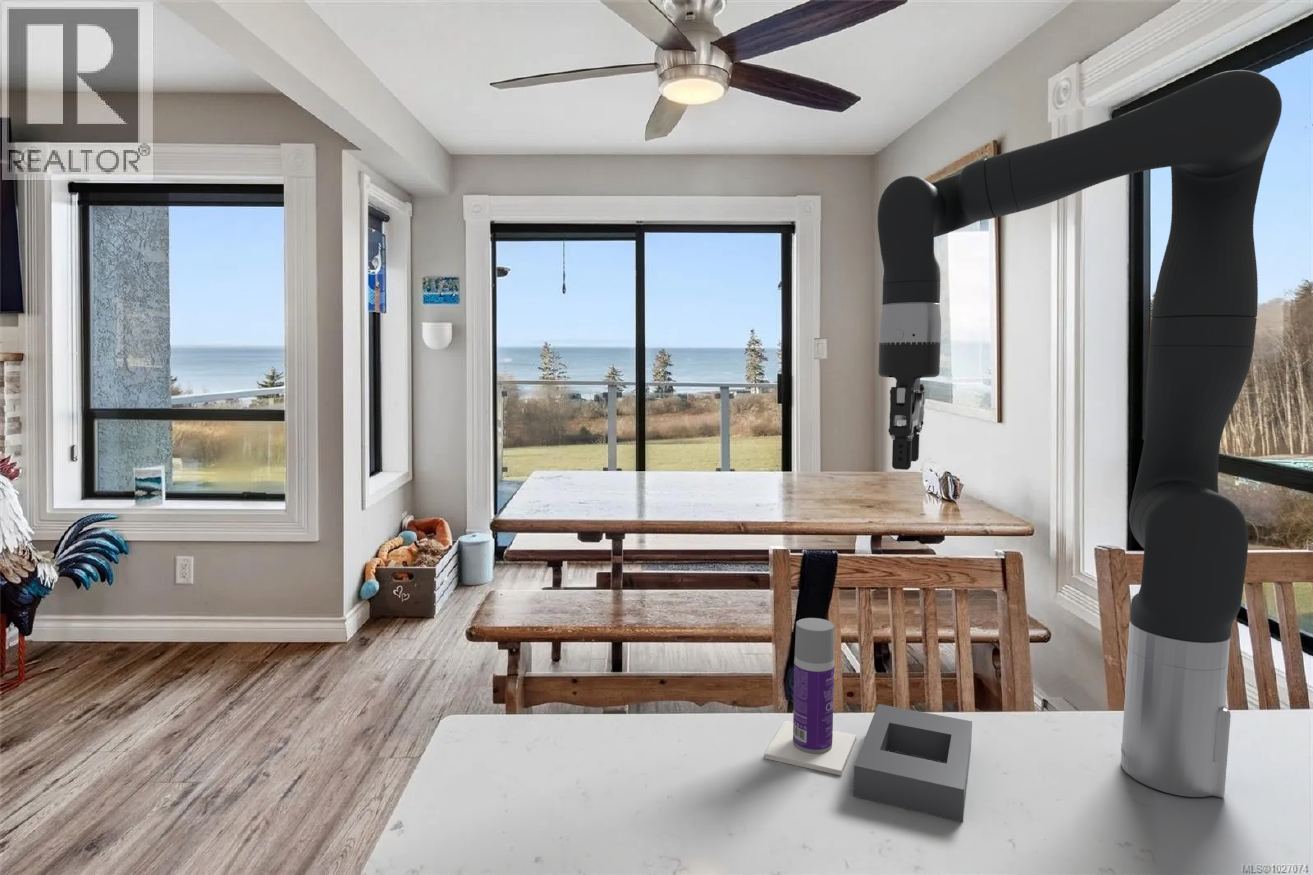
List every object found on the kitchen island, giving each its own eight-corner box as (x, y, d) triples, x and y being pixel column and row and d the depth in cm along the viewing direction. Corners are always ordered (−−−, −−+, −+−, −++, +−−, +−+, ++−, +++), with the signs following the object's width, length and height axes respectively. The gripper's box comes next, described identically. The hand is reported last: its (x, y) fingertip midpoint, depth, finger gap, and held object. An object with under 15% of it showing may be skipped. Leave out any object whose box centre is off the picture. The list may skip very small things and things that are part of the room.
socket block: (970, 748, 92) (972, 721, 91) (962, 822, 77) (964, 789, 77) (877, 730, 96) (878, 703, 96) (853, 796, 82) (854, 765, 82)
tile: (856, 739, 94) (856, 735, 94) (841, 775, 86) (841, 770, 86) (785, 725, 98) (785, 720, 98) (764, 758, 90) (764, 753, 90)
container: (832, 756, 89) (835, 632, 88) (792, 752, 90) (794, 629, 88) (831, 736, 94) (834, 618, 92) (793, 732, 95) (795, 616, 93)
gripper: (935, 338, 90) (930, 474, 91) (945, 340, 103) (940, 459, 104) (870, 339, 93) (867, 470, 95) (887, 341, 106) (884, 456, 107)
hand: (905, 464), depth 99 cm, fingers open, 8 cm apart
